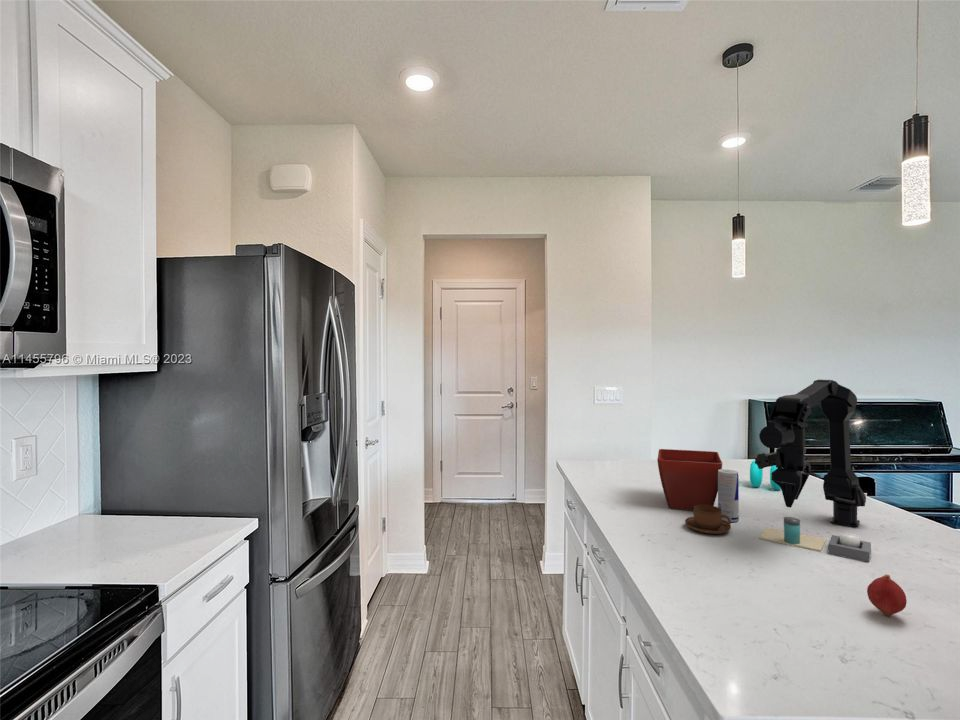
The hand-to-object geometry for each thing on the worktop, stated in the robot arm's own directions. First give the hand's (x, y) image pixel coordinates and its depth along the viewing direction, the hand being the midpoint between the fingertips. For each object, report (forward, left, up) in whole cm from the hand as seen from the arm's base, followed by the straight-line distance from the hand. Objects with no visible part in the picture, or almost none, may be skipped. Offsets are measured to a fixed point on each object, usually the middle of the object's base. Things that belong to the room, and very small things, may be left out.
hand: (791, 503), depth 128 cm
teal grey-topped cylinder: (0, 0, -10) cm, 10 cm away
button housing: (-2, +12, -11) cm, 16 cm away
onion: (+30, +20, -11) cm, 38 cm away
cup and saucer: (+3, -20, -11) cm, 23 cm away
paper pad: (-3, 0, -11) cm, 11 cm away
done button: (-2, +12, -9) cm, 15 cm away
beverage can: (-9, -18, -11) cm, 23 cm away
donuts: (-56, -17, -11) cm, 60 cm away
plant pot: (-16, -32, -11) cm, 37 cm away
